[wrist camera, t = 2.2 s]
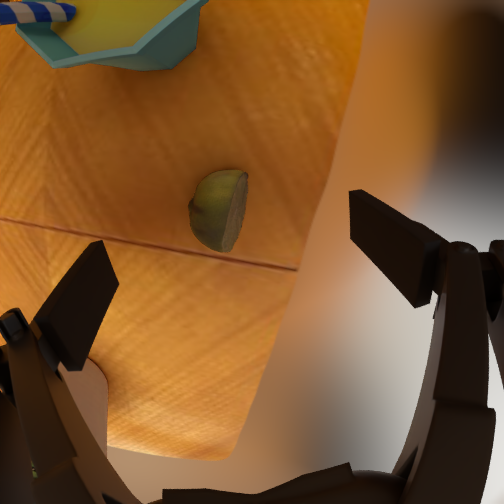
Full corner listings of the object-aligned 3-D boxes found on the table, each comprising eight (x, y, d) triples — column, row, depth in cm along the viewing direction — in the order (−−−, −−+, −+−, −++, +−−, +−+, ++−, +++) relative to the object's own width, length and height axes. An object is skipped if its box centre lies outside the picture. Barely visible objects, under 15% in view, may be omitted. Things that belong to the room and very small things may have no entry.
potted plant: (101, 419, 30) (82, 552, 12) (14, 359, 24) (-40, 494, 7) (156, 386, 28) (146, 568, 10) (47, 307, 22) (-38, 498, 4)
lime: (238, 154, 19) (245, 167, 14) (267, 216, 21) (282, 246, 16) (177, 184, 19) (166, 207, 15) (210, 243, 21) (209, 279, 17)
